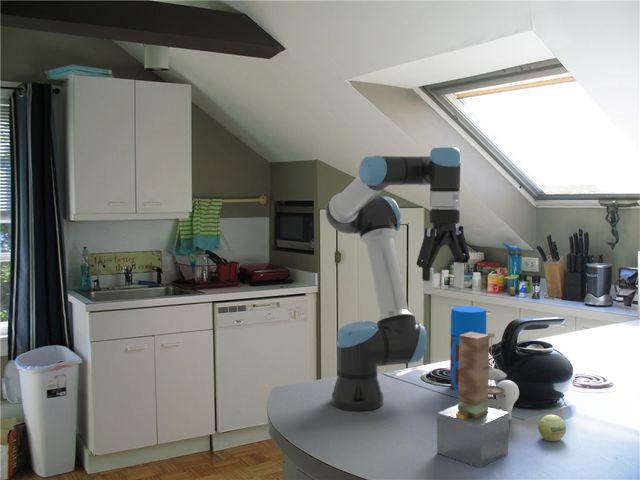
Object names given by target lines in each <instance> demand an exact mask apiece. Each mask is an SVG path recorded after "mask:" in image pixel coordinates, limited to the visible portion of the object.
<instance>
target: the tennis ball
mask: <svg viewBox="0 0 640 480" xmlns="http://www.w3.org/2000/svg"><path fill="white" fill-rule="evenodd" d="M537 426H538V427H537V429H538V432H539V434H540V436H541V437H542V438H543V440H544V441H547V442H559V441H560V440H561V439H562V438H564V437H565V434H566V431H567V427H566V423H565V421H564V419H562V418H561V417H560V416H558V415H556V414H547V415H544V416H543V417H542V418H541V419H540V420H539V422H538V425H537Z"/></svg>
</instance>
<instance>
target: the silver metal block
mask: <svg viewBox="0 0 640 480" xmlns="http://www.w3.org/2000/svg"><path fill="white" fill-rule="evenodd" d="M497 409H498V408H497ZM497 409H493V408H489V407H488V414H486V415H483V416H481V417H479V418H474V417H470V416H468V413H466V412H462V411H460V412H458V404H456V405H454V406H451V407H448V408H446V409H444V410H441V411H438V412H437V413H436V415H437V420H436V421H437V427H436V431H437V432H436V435H437V436H436V438H437V439H436V440H437V441H436V442H437V443H436V445H437V446H436V454H437V455H440V454H441V455H440V456H443V455H444V456H443V457H446V456H447V458H449V457H450V458H449V459H452V458H453V459H452V460H455V459H456V460H455V461H458V460H460V461H459V462H461V461H462V462H461V463H464V462H465V463H464V464H467V463H468V464H467V465H470V464H472V465H471V466H473V465H475V466H474V467H476V466H478V467H477V468H479V467H482V466H484V465H485V466H487V465H489V464H491V463H492V462H491V461H493V460H495V459H496V460H498V459H500V458H502V457H503V455H504V456H506V455H507V454H509V428H508V426H509V427H510V424H509V423H510V422H509V421H510V419H509V412H505V411H501V410H497ZM506 453H507V454H506ZM505 454H506V455H505ZM501 456H502V457H501ZM499 457H500V458H499ZM497 458H498V459H497ZM496 460H495V461H496ZM490 462H491V463H490ZM493 462H494V461H493ZM488 463H489V464H488ZM486 464H487V465H486ZM485 466H484V467H485ZM482 468H483V467H482Z"/></svg>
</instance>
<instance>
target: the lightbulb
mask: <svg viewBox="0 0 640 480" xmlns="http://www.w3.org/2000/svg"><path fill="white" fill-rule="evenodd" d="M495 386H497V387H501V388H503V389H504V390H505V391H504V393H502V394H498V395H495V398H496V399H502V398H504V394H505V396H506V412H509V420H511V419H512V412H513V411H512V410H513V408H514V404H515V403H516V402H517V400H518V399H519V396H520V390H519V387H518V385H517V383H515V382H514V381H512V380H510V379H502V380H499V382H498V383H497V384H496V385H495Z"/></svg>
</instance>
